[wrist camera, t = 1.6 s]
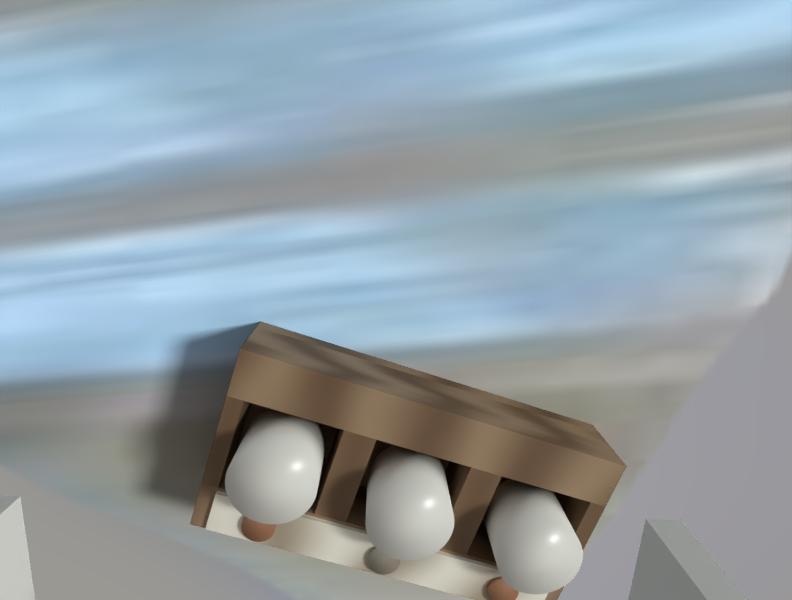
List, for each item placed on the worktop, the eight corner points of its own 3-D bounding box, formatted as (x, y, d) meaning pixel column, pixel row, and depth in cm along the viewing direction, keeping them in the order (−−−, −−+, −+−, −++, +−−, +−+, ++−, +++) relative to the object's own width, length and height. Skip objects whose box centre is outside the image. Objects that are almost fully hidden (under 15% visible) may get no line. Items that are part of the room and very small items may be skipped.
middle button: (357, 499, 33) (353, 547, 29) (381, 433, 32) (382, 474, 27) (429, 519, 33) (436, 569, 29) (456, 455, 32) (467, 498, 28)
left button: (236, 465, 32) (214, 510, 28) (257, 396, 31) (238, 433, 26) (312, 486, 32) (302, 534, 28) (335, 420, 31) (329, 459, 27)
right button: (471, 530, 34) (484, 582, 29) (499, 468, 32) (517, 512, 28) (539, 549, 34) (561, 603, 30) (569, 488, 33) (597, 535, 29)
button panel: (215, 475, 36) (186, 531, 30) (260, 321, 33) (236, 352, 27) (526, 560, 38) (550, 625, 33) (592, 425, 35) (631, 472, 30)
